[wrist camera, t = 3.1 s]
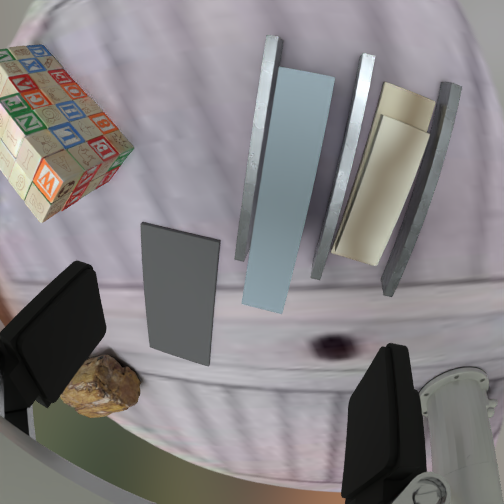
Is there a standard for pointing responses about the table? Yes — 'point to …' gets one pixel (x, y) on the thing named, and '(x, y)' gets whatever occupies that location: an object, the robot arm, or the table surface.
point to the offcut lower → (400, 108)
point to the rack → (347, 165)
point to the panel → (286, 184)
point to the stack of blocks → (52, 133)
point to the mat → (179, 291)
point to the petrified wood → (102, 388)
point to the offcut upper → (381, 190)
